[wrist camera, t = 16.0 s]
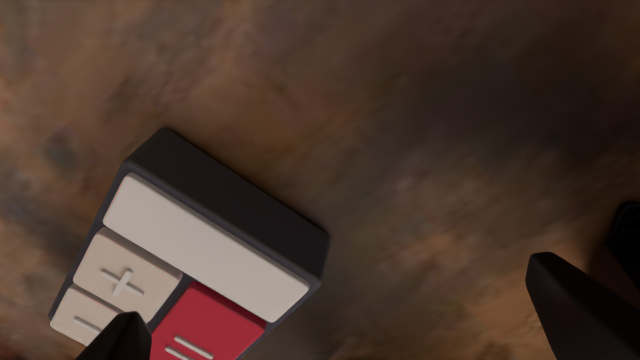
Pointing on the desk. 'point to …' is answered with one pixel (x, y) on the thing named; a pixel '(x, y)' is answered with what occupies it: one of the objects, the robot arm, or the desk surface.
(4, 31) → the desk surface
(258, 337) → the calculator
